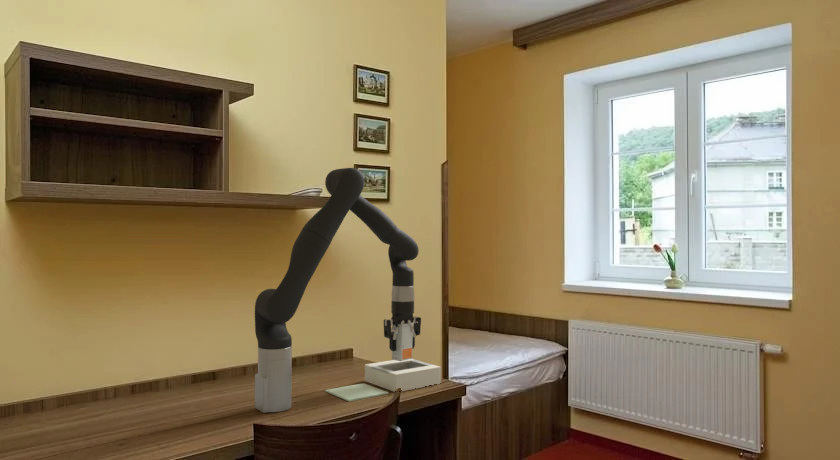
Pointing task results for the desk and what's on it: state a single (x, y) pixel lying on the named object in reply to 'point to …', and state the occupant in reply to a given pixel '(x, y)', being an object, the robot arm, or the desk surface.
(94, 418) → the desk surface
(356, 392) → the place mat
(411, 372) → the access box
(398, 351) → the skincare box
